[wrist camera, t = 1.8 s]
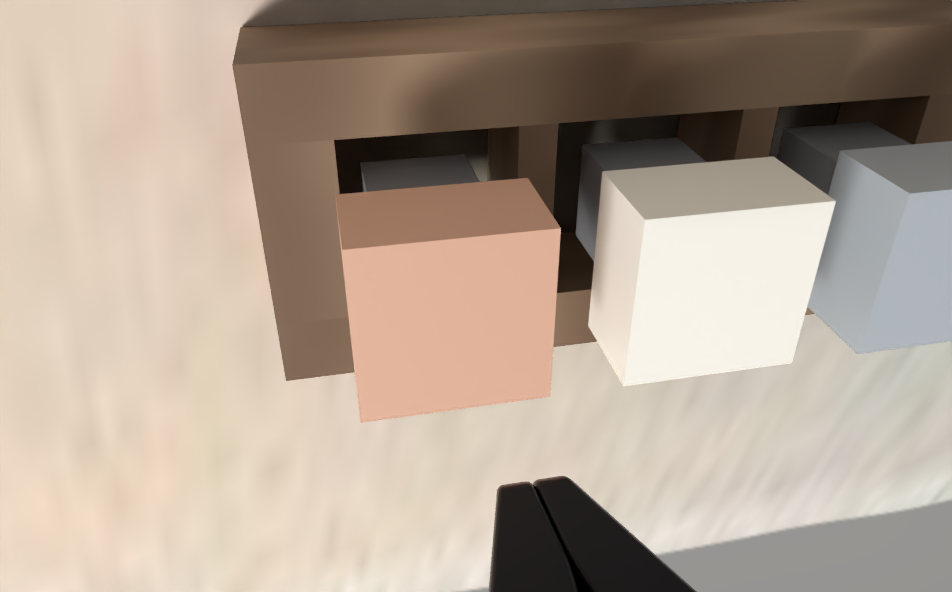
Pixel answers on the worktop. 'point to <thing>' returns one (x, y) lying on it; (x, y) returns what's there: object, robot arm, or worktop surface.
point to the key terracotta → (447, 287)
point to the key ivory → (696, 258)
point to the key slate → (880, 233)
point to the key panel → (553, 111)
